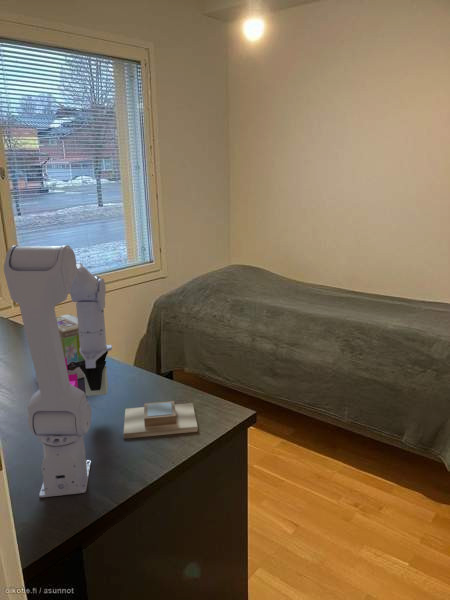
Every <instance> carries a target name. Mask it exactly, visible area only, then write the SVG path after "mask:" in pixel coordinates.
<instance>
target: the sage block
mask: <svg viewBox="0 0 450 600" xmlns="http://www.w3.org/2000/svg"><path fill="white" fill-rule="evenodd" d="M107 368H108V367H107V365H105V367H104V369H103V372H102V383H101V389H100V390H96V391H91V390H90V387H89V384H88V381H87V378H86V376H85V374H84V377H83V379H84V387H85V389H84V390H85V396H86V397H88V396H89V397H90V396H91V397H92V396H101V395H102V396H103V395H104V396H105V395H107V394H108V388H109V382H108V381H109V380H108V369H107Z"/></svg>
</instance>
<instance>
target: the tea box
mask: <svg viewBox="0 0 450 600" xmlns="http://www.w3.org/2000/svg"><path fill="white" fill-rule="evenodd" d="M56 319H57V324H58V329H59V333H60V338H61V343H62V348H63V353H64V357H65V359H66V357H67V367H68V375H73V374H77V379H78V380H79V379H82V378H83V379H84V373H83V371H82V370H81V369H80V367H79V363H80V361H85V359H84V358H83V356H82V355H81V354H80V351H79V349H80V341H79V330H78V319H77V315H74V314H72V313H69V314H64V315H58V316H56Z"/></svg>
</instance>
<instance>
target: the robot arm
mask: <svg viewBox="0 0 450 600" xmlns="http://www.w3.org/2000/svg"><path fill="white" fill-rule="evenodd" d="M76 258H77V257H76V255H75V252H74V249H73V248H72V247H71V246H69V245H68V244H63V245H27V246H26V245H18V244H17V245H15V244H13V245H11V246H10V247H9V249H8V250H7V252H6V254H5V257H4V263H3V274H4V276H5V280H6V285H7V288H8V292H9V295H10V299H11V300H12V301H13V302H15V304H17V305H18V306H19V311H20V314H21V318H22V323H23V327H24V330H25V335H26V340H27V342H28V347H29V351H30V355H31V359H32V364H33V367H34V372H35V373H34V374H35V377H36V380H37V381H36V382H37V384H38V390H37V391H35V392H34V393H33V395H32V396H31V398H30V400H29V403H28V405H27V415H28V418H27V419H28V420H27V425H28V429H29V431H30V433H31V434H32V436H36V437H37V442H41V443H42V451H43V460H42V463H41V475H42V481H43V482H42V485H41V489H40V491H39V494H38V495H39V498H48V497H49V498H50V497H58V496H67V495H76V494H84V493H86V492H87V487H88V482H89V477H90V472H91V471H90V469H91V464H92V461H91V459H87V457H86V450H85V449H86V448H85V440H84V439H85V438H84V436H85V435H86V434H87V433H88V431H89V429H90V427H91V425H92V407H91V405H90V403H89V401H88V399H87V396H86V391H84V390H81V389H80V388H79V387H78V388H76V387H75V386H73V385H71V384H70V382H69V377H68V373H67V368H66V363H65V358H64V353H63V348H62V343H61V338H60V333H59V329H58V324H57V319H56V317H57V314H56V310H55V308H56V306H58V305H59V304H61V303H63V302H64V301H66V300H67V299H68V295H70V299H71V301H72V303H75V307H76V316H77V319H78V330H79V341H80V349H79V351H80V354H81V355H82V356H83V358H84V359H85V361H80V363H79V367H80V369H81V370H82V371H83V373H84V374H85V376H86V378H87V381H88V384H89V387H90V390H91V391H96V390H100V389H101V383H102V372H103V369H104V367H105V366H106V364H107V360H106V359H107V356H108V353H109V352H110V351H112V349H113V346H112V344H107V335H106V324H105V312H104V311H105V310H104V309H105V308H106V294H107V293H106V291H107V288H106V282H105V279H104V278H102V277H100V275H99V276H98V275H96V276H95V275H93V274H92V273H91V272H90V271H89V270H88V269H87V267H85V266H84V264H82V262H77V260H76Z"/></svg>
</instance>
